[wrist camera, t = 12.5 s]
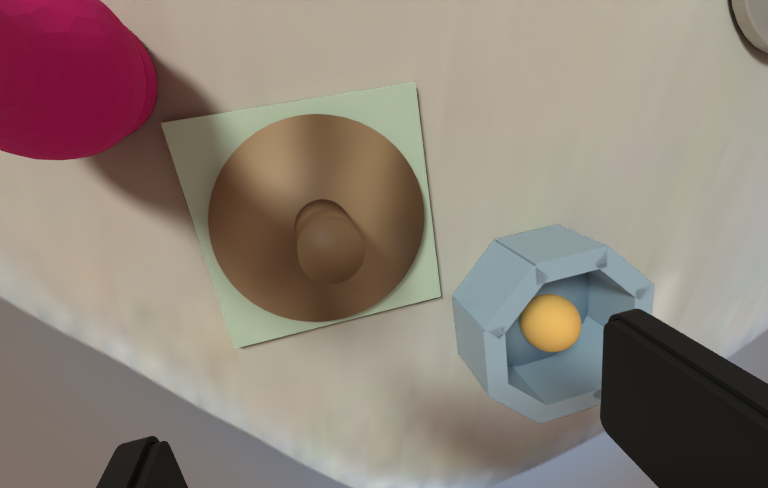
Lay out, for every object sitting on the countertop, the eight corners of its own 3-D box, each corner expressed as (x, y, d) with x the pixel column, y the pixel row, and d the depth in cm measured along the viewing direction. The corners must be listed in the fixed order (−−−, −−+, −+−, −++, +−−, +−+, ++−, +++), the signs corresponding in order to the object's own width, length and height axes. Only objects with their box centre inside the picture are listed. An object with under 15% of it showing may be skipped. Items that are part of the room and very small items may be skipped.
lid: (406, 97, 24) (442, 94, 19) (430, 290, 28) (465, 333, 23) (180, 134, 22) (148, 142, 17) (242, 336, 26) (233, 395, 21)
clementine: (557, 279, 31) (595, 302, 27) (558, 326, 32) (594, 354, 28) (507, 292, 30) (539, 318, 26) (510, 339, 31) (541, 370, 28)
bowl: (601, 214, 30) (658, 233, 26) (597, 352, 34) (646, 390, 30) (447, 250, 28) (478, 278, 24) (462, 392, 33) (492, 439, 28)
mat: (412, 82, 25) (415, 81, 24) (438, 292, 29) (441, 296, 29) (163, 122, 22) (160, 123, 22) (235, 343, 27) (234, 348, 26)
